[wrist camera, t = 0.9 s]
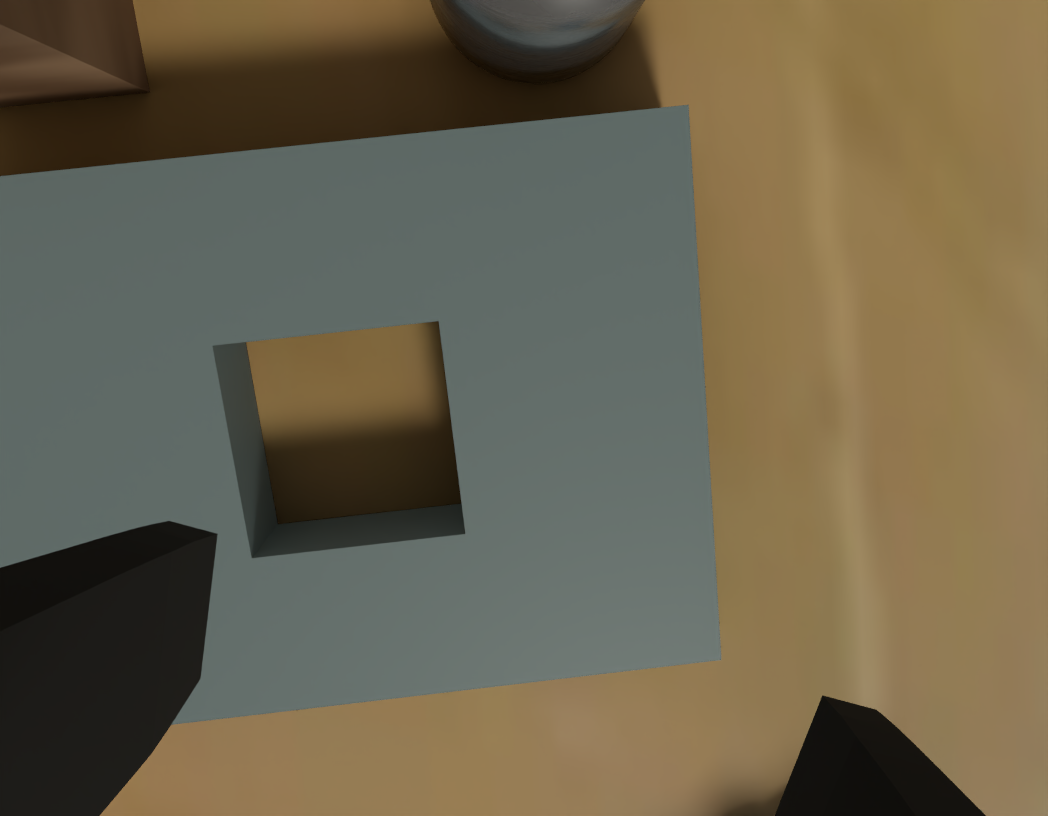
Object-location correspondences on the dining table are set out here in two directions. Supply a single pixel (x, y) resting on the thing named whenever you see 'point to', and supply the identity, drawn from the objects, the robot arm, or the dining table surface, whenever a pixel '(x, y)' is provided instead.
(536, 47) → the gunmetal plug
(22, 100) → the walnut peg
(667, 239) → the socket plate
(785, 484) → the dining table surface
